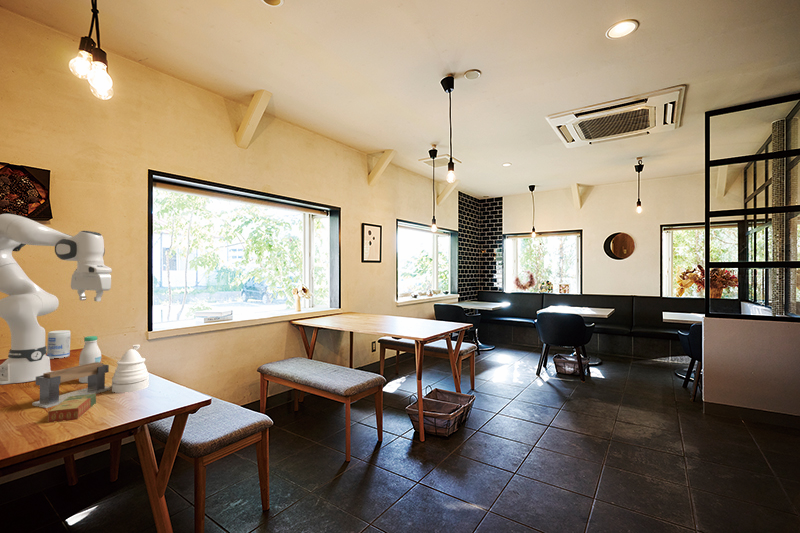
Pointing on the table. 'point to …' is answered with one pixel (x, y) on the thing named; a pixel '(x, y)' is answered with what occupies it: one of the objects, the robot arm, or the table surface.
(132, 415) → the table surface
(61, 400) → the bracket stand
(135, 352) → the honey pot
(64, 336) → the supplement tub
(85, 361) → the milk bottle
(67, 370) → the rail
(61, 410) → the carton
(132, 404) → the table surface
